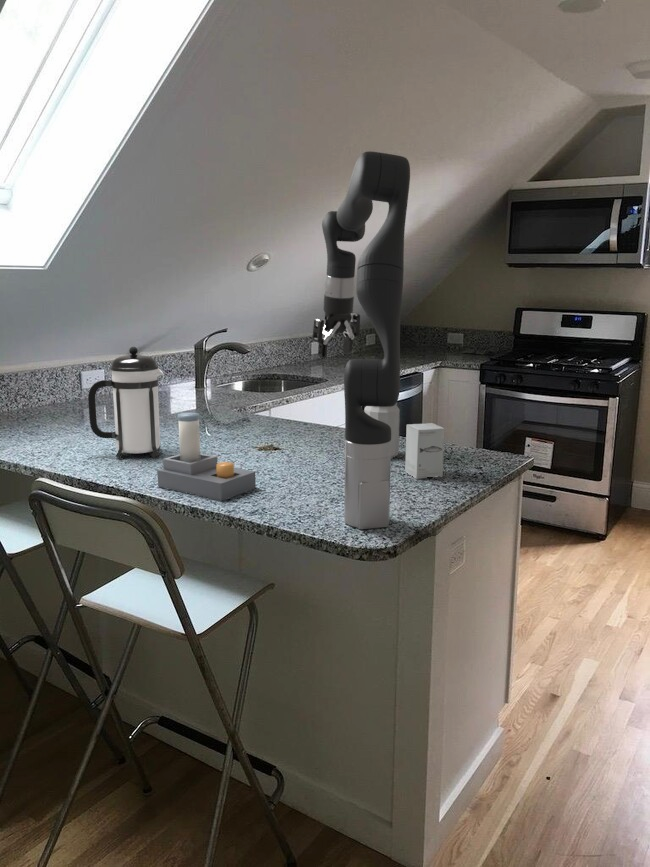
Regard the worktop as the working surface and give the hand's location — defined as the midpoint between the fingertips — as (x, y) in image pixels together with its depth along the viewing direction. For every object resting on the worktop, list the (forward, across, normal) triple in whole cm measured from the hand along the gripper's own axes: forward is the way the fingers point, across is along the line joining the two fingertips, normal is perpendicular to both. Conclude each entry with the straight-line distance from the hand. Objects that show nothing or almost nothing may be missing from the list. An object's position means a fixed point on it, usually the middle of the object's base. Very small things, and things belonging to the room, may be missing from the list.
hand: (335, 355), depth 193 cm
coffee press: (+33, -40, +36) cm, 63 cm away
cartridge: (+22, -42, +2) cm, 48 cm away
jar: (+29, +11, -9) cm, 32 cm away
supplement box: (+24, +6, -30) cm, 39 cm away
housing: (+25, -41, -3) cm, 49 cm away
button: (+22, -40, -8) cm, 46 cm away
